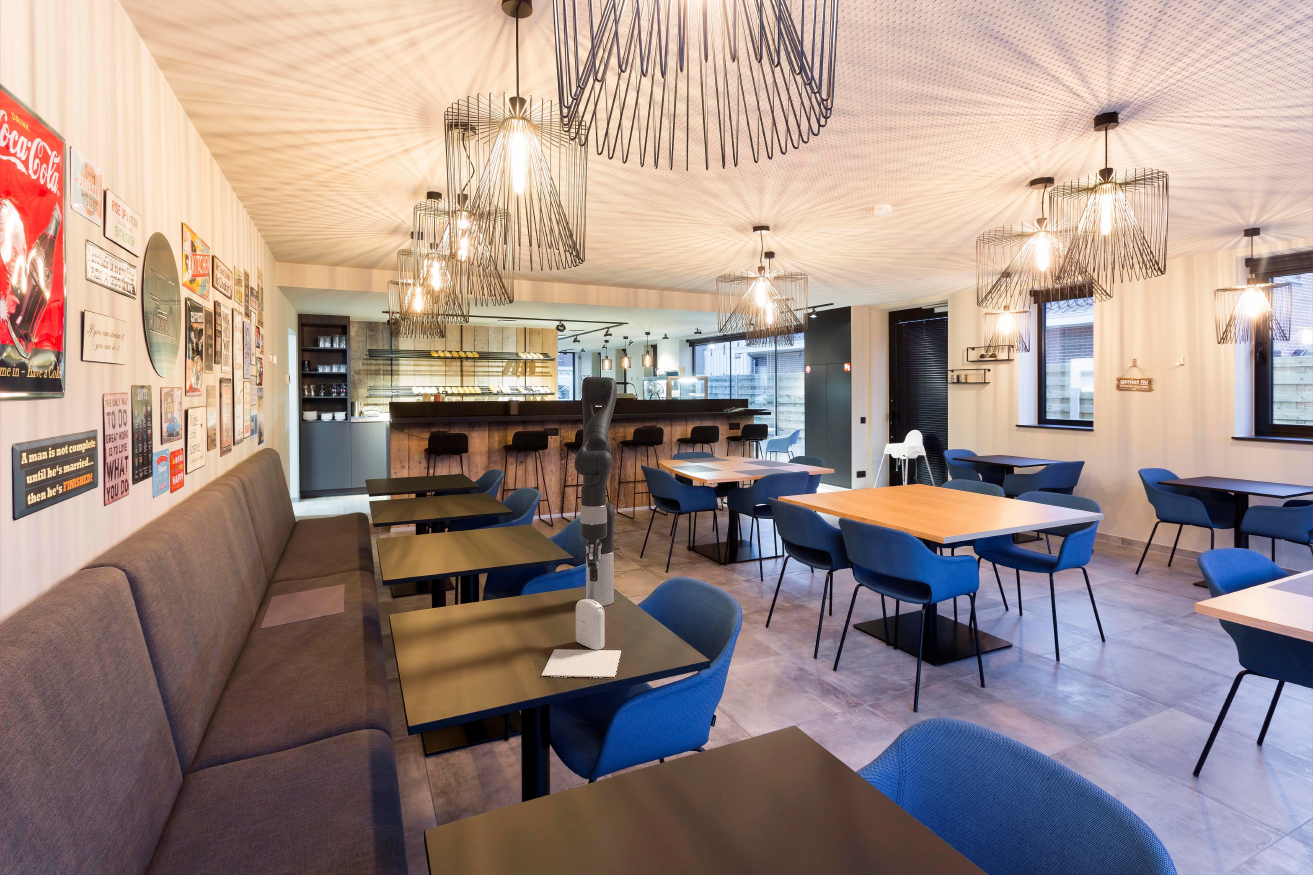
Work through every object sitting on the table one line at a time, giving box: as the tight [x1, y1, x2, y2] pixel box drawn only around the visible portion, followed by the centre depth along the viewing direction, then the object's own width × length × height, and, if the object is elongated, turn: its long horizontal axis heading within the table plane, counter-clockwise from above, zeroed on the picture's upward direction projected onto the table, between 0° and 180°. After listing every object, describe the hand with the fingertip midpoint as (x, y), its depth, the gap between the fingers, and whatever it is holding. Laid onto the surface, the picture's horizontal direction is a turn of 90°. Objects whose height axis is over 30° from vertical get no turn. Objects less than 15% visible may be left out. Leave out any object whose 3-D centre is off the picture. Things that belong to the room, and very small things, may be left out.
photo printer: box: [575, 598, 606, 650], centre depth 174 cm, size 10×4×12 cm, turn 39°
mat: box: [541, 648, 622, 679], centre depth 162 cm, size 16×18×1 cm
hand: (593, 580), depth 181 cm, fingers closed
